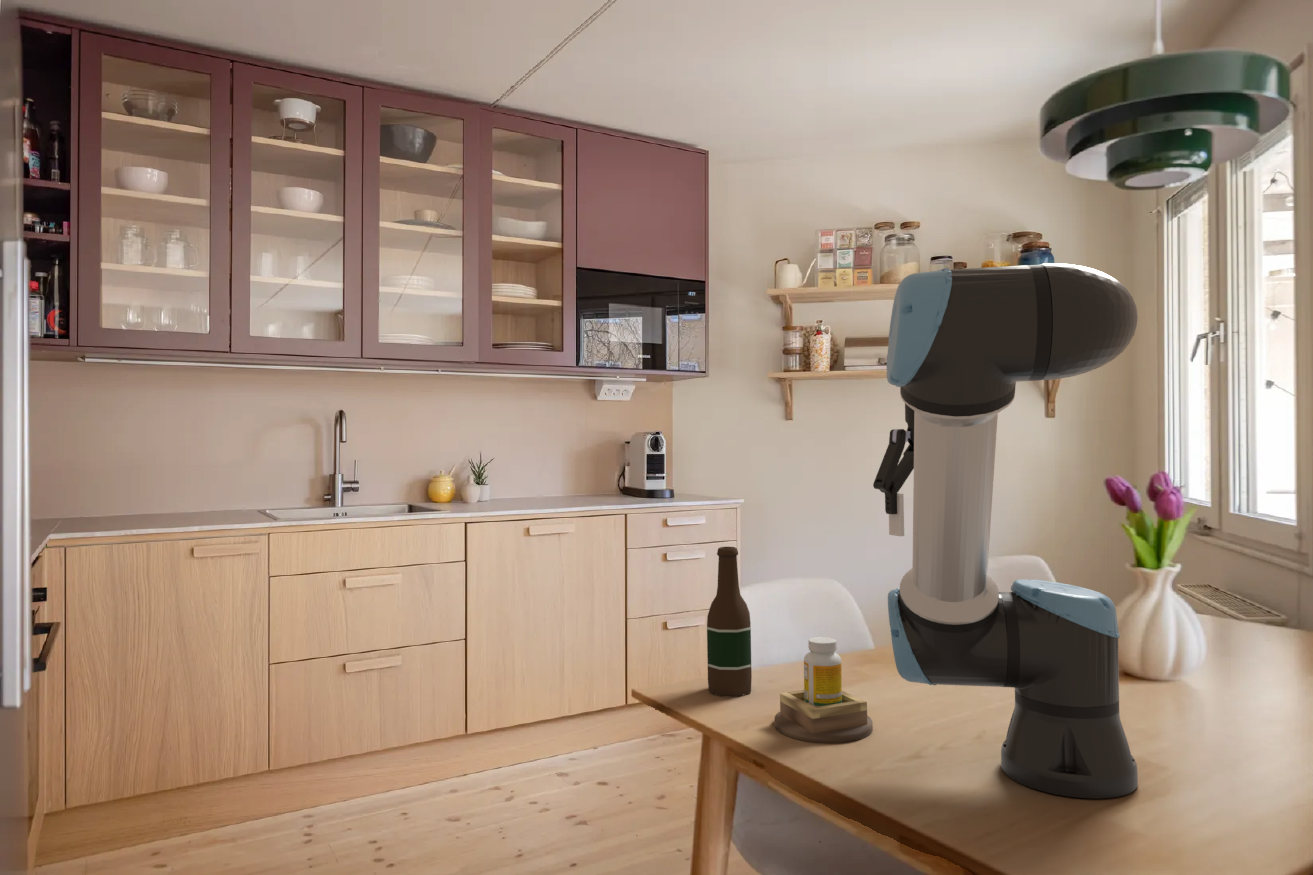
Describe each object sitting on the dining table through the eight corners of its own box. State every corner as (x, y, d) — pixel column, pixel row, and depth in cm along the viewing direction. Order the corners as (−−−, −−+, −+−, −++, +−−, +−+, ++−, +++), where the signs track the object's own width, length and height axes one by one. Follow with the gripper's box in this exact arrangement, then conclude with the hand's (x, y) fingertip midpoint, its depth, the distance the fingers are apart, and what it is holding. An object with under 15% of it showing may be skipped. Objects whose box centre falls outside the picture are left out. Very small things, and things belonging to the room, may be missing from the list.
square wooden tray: (892, 734, 122) (892, 704, 122) (807, 748, 116) (806, 717, 116) (836, 706, 135) (836, 679, 135) (757, 718, 129) (756, 690, 129)
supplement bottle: (797, 705, 126) (795, 639, 126) (820, 698, 129) (819, 634, 129) (825, 713, 122) (824, 645, 122) (849, 706, 125) (848, 639, 125)
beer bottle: (716, 699, 140) (713, 551, 140) (700, 686, 147) (698, 546, 147) (760, 694, 142) (757, 548, 142) (743, 682, 149) (740, 543, 149)
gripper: (974, 399, 144) (977, 526, 144) (848, 399, 135) (851, 535, 135) (1008, 397, 137) (1011, 530, 137) (878, 396, 128) (881, 539, 128)
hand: (932, 533), depth 136 cm, fingers open, 13 cm apart
